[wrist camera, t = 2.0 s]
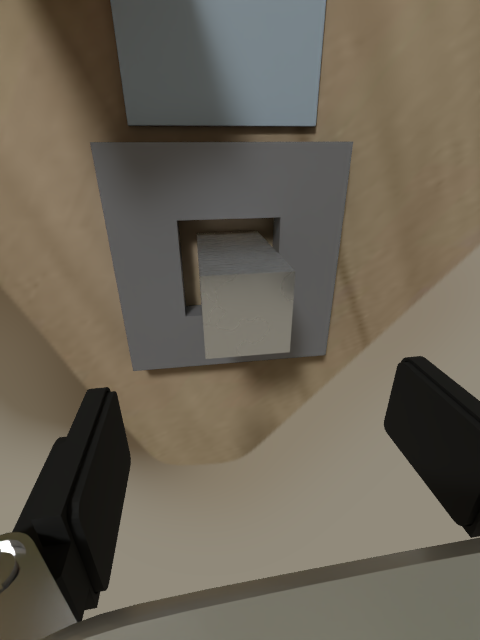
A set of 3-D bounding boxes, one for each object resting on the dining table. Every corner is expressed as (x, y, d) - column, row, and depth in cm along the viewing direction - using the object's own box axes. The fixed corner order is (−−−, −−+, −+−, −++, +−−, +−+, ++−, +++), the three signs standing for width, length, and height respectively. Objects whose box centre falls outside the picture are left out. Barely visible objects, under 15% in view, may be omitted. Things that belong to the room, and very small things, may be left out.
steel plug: (256, 230, 24) (295, 271, 15) (255, 287, 26) (289, 352, 17) (196, 233, 24) (200, 276, 15) (200, 290, 26) (205, 359, 17)
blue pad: (335, -151, 16) (339, -158, 16) (313, 126, 21) (315, 125, 21) (86, -178, 15) (84, -187, 14) (129, 125, 20) (127, 125, 20)
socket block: (340, 143, 22) (353, 141, 20) (317, 343, 29) (325, 354, 27) (98, 144, 20) (90, 142, 18) (137, 357, 27) (133, 371, 26)
